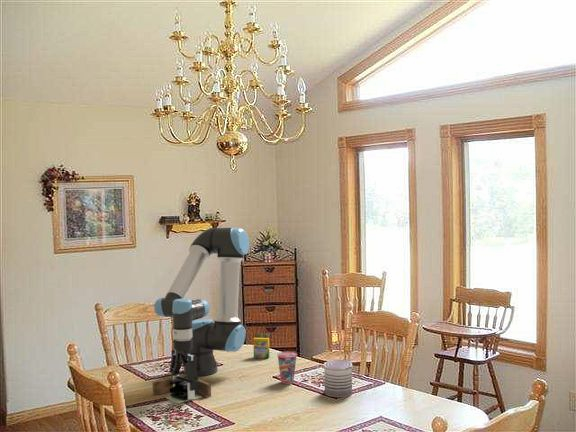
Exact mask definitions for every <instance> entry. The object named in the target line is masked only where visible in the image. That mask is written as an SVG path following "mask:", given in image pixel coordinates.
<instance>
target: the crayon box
mask: <svg viewBox="0 0 576 432" xmlns="http://www.w3.org/2000/svg"><path fill="white" fill-rule="evenodd" d="M262 335H263V336H262ZM253 359H264V360H265V359H266V360H267V359H270V333H254V337H253Z"/></svg>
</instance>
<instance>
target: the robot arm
mask: <svg viewBox="0 0 576 432" xmlns="http://www.w3.org/2000/svg"><path fill="white" fill-rule="evenodd" d="M249 249H250V239H249V235H248V234H247V232H246V231H245V229H243V228H241V227H240V228H239V227H210V228H207V229H206V230H204V231H202V232H201V233H200V234H198V236H197V237H196V238H195V239H194V240H193V241H192V242H191V244H190V246H189V248H188V255H187V256H186V258H185V260H184V261H183V264H182V266H181V267H180V269H179V271H178V273H177V275H176V277H175V278H174V280H173V282H172V284H171V285H170V287H169V289H168V291H167V293H166V295H165V297H159V298H158V299H156V300H155V303H154V307H153V309H154V312H155V314H156V316H158V317H162V318H163V317H164V318H172V339H173V340H172V346H173V347H172V348H173V349H172V350H171V359H170V364H169V365H170V366H169V373H170V374H171V375H172V378H173V380H174V379H177V376H181V375H180V374H181V372H180V371H181V369H182V367H183V371H182V372H183V373H184V375H185V376H186V375H187V377H188V382H187V390H188V399H192V398H195V381H198V379H199V377H202V376H203V377H204V376H209V375H213V374H216V373H217V372H218V364H217V361H216V359H215V358H216V357H215V355H214V351H221V352H227V353H231V352H233V353H235V352H238V351H240V349H241V348H242V347H243V345H244V344H245V341H246V334H247V333H246V328H245V327H244V325H243V324H241V322H242V320H241V319H240V318H239V315H238V314H239V295H240V294H239V291H240V270H241V267H240V266H241V262H242V261H243V260H244V259H245V258H244V257H245V255H247V254H248V253H249ZM214 254H217V259H218V260H219V262H220V266H219V267H220V269H219V287H218V288H219V289H218V291H219V292H218V309H217V311H218V312H217V313H218V314H217V317H216V318H214V321H213V319H212V318H204V317H206V316H208V314H209V312H210V305H209V303H208V301H207V300H205V299H203V298H197V299H195V300H194V299H191V298H187V295H188V293H189V292H190V289H191V287H192V285H193V283H194V281H195V279H196V277H197V276H198V273H199V272H200V270H201V268H202V266H203V264H204V263H205V261H207V260H208V259H209V258H210V256H211V255H214ZM174 386H175V384H173V387H174Z"/></svg>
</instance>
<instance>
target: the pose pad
mask: <svg viewBox="0 0 576 432" xmlns="http://www.w3.org/2000/svg"><path fill="white" fill-rule="evenodd" d="M201 398H202V395H200V394H198V393H197V394H196V395H195V398H192V399H188V400H182V399H178V398H175V397H172V396H170V395H169V396H165V399H167V400H169V401H171V402H173V403H175V404H180V403H186V402H189V401H193V400H197V399H201Z"/></svg>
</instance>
